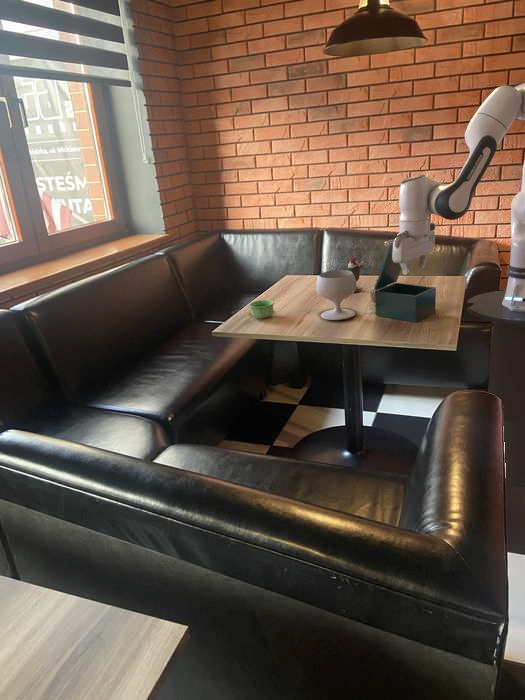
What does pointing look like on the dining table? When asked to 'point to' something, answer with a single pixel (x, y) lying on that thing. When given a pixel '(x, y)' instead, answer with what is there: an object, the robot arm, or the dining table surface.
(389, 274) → the compartment lid
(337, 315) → the chalice
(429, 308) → the compartment
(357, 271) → the sundae
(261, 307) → the ramekin
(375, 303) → the vase
